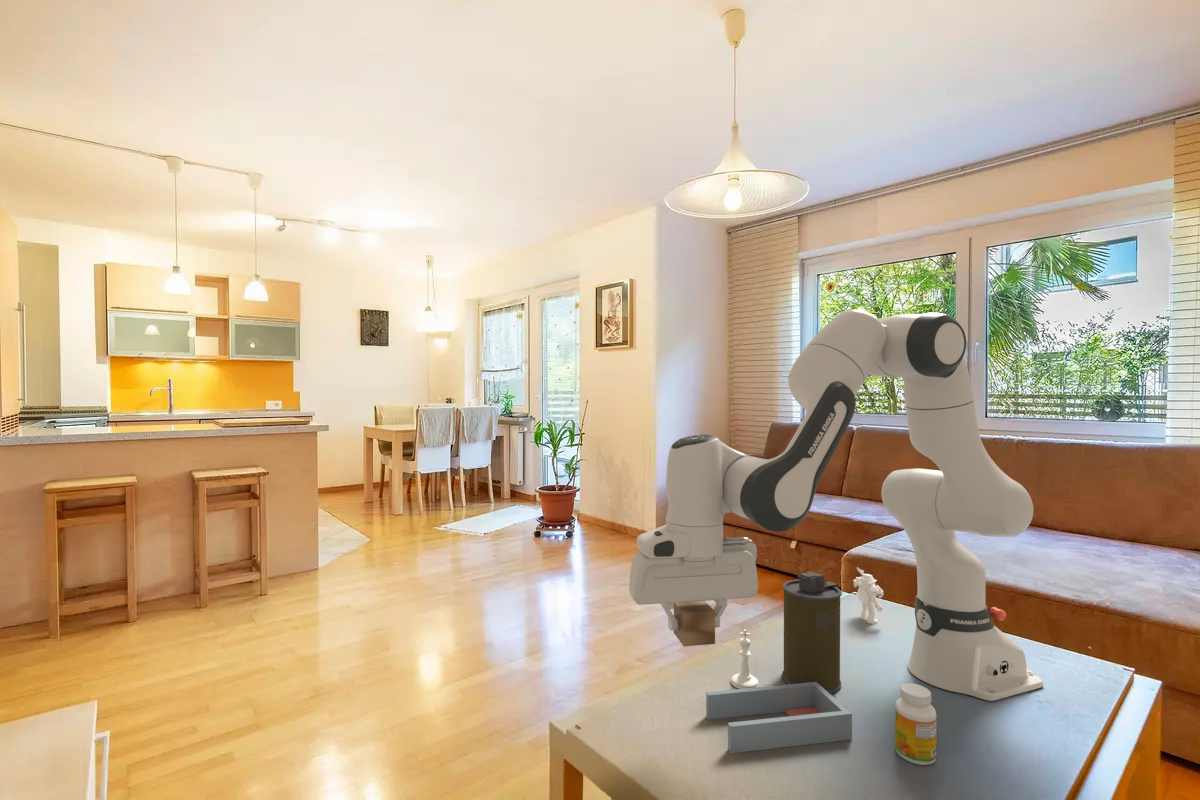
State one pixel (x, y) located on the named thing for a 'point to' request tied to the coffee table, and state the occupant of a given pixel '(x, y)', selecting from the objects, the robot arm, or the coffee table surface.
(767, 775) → the coffee table surface
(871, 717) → the coffee table surface
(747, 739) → the channel
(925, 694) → the supplement bottle
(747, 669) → the chess piece
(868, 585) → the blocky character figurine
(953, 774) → the coffee table surface
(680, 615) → the walnut cube
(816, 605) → the canister
